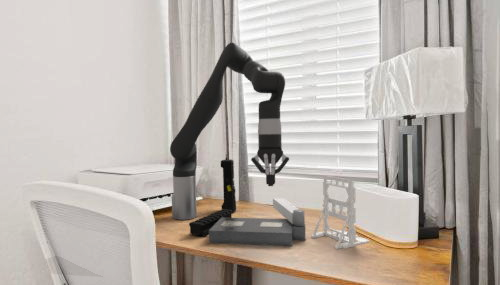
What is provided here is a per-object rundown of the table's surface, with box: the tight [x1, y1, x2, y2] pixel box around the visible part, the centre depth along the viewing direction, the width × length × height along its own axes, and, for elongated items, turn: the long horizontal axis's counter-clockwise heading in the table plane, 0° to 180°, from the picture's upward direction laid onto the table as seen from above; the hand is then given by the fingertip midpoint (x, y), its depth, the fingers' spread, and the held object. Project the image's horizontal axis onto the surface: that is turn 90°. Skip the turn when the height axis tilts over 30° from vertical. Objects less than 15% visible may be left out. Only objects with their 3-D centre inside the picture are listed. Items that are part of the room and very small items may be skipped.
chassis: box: [208, 217, 306, 247], centre depth 110 cm, size 30×16×4 cm, turn 81°
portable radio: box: [220, 153, 237, 212], centre depth 145 cm, size 8×6×25 cm
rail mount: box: [188, 208, 233, 238], centre depth 120 cm, size 21×6×5 cm, turn 153°
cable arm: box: [272, 197, 306, 226], centre depth 120 cm, size 28×4×4 cm, turn 10°
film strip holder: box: [310, 174, 371, 250], centre depth 105 cm, size 14×14×20 cm
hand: (270, 185), depth 109 cm, fingers closed
